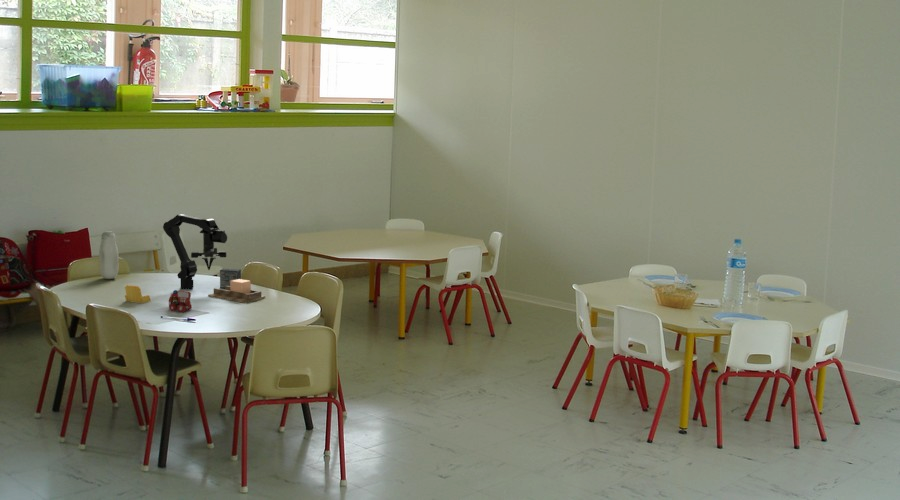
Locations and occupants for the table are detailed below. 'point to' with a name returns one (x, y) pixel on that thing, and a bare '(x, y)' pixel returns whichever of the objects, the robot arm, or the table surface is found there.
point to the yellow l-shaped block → (135, 295)
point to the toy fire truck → (180, 301)
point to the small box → (229, 276)
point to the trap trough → (236, 295)
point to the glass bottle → (108, 255)
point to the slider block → (240, 286)
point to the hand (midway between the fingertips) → (208, 269)
